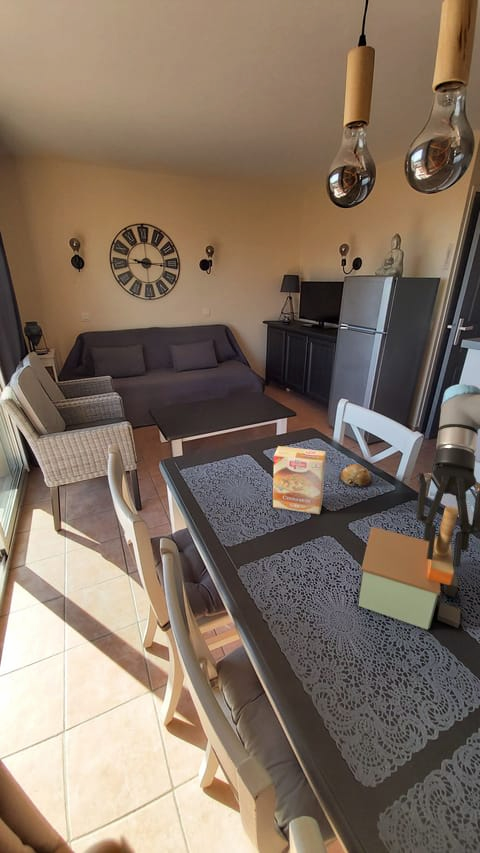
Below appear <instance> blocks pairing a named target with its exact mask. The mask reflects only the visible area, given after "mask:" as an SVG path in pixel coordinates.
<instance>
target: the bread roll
mask: <svg viewBox="0 0 480 853" xmlns="http://www.w3.org/2000/svg"><path fill="white" fill-rule="evenodd" d="M340 479H341V481H343V482H344V484H346V485H348V486H351V487H359V488H360V487H361V488H362V487H363V488H364V487H367V486H369V485H370V483H371V473H370V471H369V470H368V469H367V468H366V467H365V466H363V465H361V464H359V463H354V464H350V465H348V466H346V467H344V469H343V470H342V471H341V474H340Z"/></svg>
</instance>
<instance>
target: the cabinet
mask: <svg viewBox="0 0 480 853" xmlns="http://www.w3.org/2000/svg"><path fill="white" fill-rule="evenodd" d="M427 545H428V541H424V539H423V538H417V537H414V536H410V535H407V534H402V533H398V532H395V531H391V530H386V529H383V528H379V527H374V526H371V527H370V531H369V536H368V539H367V544H366V548H365V552H364V556H363V561H362V564H361V569H360V570H361V572H362V578H361V584H360V593H359V599H358V607H361V608H364V609H366V610H370V611H372V612H375V613H378V614H381V615H384V616H387V617H389V618H392V619H395V620H399V621H401V622H404V623H407V624H410V625H413V626H416V627H418V628H422V629H424V630H429V629H431V625H432V621H433V618H434V614H435V609H436V606H437V602H438V598H439V596H441V583H439V582H436V581H432V580H429V579H428V570H427Z"/></svg>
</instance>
